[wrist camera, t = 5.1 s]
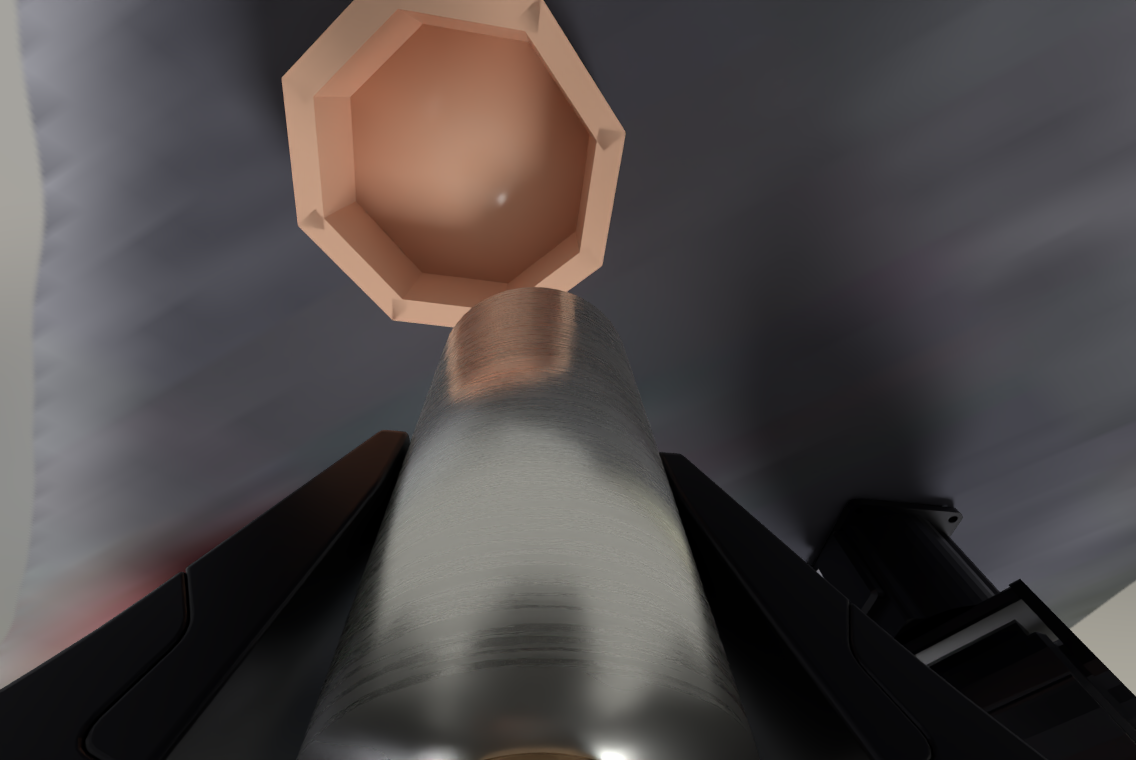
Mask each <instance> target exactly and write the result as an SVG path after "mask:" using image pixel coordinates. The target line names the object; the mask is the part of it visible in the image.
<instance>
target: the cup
mask: <svg viewBox="0 0 1136 760" xmlns="http://www.w3.org/2000/svg"><path fill="white" fill-rule="evenodd" d="M282 86H283V95H284V104H285V113H286V122H287V131H288V140H289V149H290V158H291V167H292V176H293V185H294V194H295V203H296V212H297V221H298V226H299V227H300V228H301V229H302V230H303V231H304V232H305V233H306V234H307V235H308V236H309V237H310V238H311V239H312V240H313V241H314V242H315V243H316V244H317V245H318V246H319V247H320V248H321V249H322V250H323V251H324V252H325V253H326V254H327V255H328V256H329V257H330V258H331V259H332V260H333V261H334V262H335V263H336V264H337V265H338V266H339V267H340V268H341V269H342V270H343V271H344V272H345V273H346V274H347V275H348V276H349V277H350V278H351V279H352V280H353V281H354V282H355V283H356V284H357V285H358V286H359V287H360V288H361V289H362V290H363V291H364V292H365V293H366V294H367V295H368V296H369V297H370V298H371V299H372V300H373V301H374V302H375V303H376V304H377V305H378V306H379V307H380V308H381V309H382V310H383V311H384V312H385V313H386V314H387V315H388V316H389V317H390V318H391V319H392V320H395V321H404V322H413V323H421V324H430V325H438V326H447V327H455V325H456V324H457V322H458V321H459V320H460V319H461V318H462V317H463V315H464V314H466V313H467V312H468V311H469V310H470V309H471V308H472V307H474V306H475V305H477V304H478V303H480V302H481V301H483V300H484V299H486V298H489V297H491V296H493V295H495V294H498V293H501V292H504V291H507V290H511V289H516V288H524V287H546V288H552V289H557V290H561V291H564V292H567V291H568V290H570V289H571V288H572V287H574V286H575V285H577V284H578V283H579V282H581V281H582V280H583V279H585V278H586V277H587V276H589V275H590V274H592V273H593V272H594V271H596V270H597V269H598V268H600V267H601V266H602V264H603V258H604V253H605V247H606V241H607V236H608V230H609V224H610V219H611V213H612V208H613V202H614V196H615V191H616V185H617V179H618V174H619V168H620V163H621V157H622V151H623V146H624V140H625V134H626V132H625V130H624V129H623V127H622V126H621V124H620V122H619V121H618V119H617V118H616V116H615V114H614V113H613V111H612V110H611V108H610V106H609V105H608V103H607V102H606V100H605V98H604V97H603V95H602V94H601V92H600V90H599V89H598V87H597V86H596V84H595V82H594V81H593V79H592V77H591V76H590V74H589V73H588V71H587V69H586V68H585V66H584V65H583V63H582V61H581V60H580V58H579V57H578V55H577V53H576V52H575V50H574V49H573V47H572V45H571V44H570V42H569V41H568V39H567V37H566V36H565V34H564V33H563V31H562V29H561V28H560V26H559V25H558V23H557V21H556V20H555V18H554V16H553V15H552V13H551V12H550V10H549V8H548V7H547V5H546V4H545V2H544V0H353V2H352V3H351V4H350V5H349V6H348V7H347V8H346V9H345V10H344V11H343V12H342V13H341V14H340V16H339V17H338V18H337V19H336V20H335V21H334V22H333V23H332V24H331V25H330V26H329V27H328V28H327V30H326V31H325V32H324V33H323V34H322V35H321V36H320V37H319V38H318V39H317V40H316V41H315V42H314V44H313V45H312V46H311V47H310V48H309V49H308V50H307V51H306V52H305V53H304V54H303V55H302V56H301V58H300V59H299V60H298V61H297V62H296V63H295V64H294V65H293V66H292V67H291V68H290V69H289V70H288V72H287V73H286V74H285V75H284V76H283V77H282Z"/></svg>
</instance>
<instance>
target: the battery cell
mask: <svg viewBox="0 0 1136 760" xmlns="http://www.w3.org/2000/svg"><path fill="white" fill-rule="evenodd" d="M296 760H760V757H759V754H758V750H757V747H756V744H755V741H754V738H753V735H752V732H751V729H750V726H749V723H748V720H747V717H746V714H745V711H744V708H743V705H742V702H741V699H740V696H739V693H738V690H737V687H736V684H735V681H734V678H733V675H732V672H731V669H730V666H729V663H728V660H727V657H726V654H725V651H724V648H723V645H722V642H721V639H720V636H719V632H718V629H717V626H716V623H715V620H714V617H713V614H712V611H711V608H710V605H709V602H708V599H707V596H706V593H705V590H704V587H703V584H702V581H701V578H700V575H699V572H698V569H697V566H696V563H695V560H694V557H693V554H692V551H691V548H690V545H689V542H688V539H687V536H686V533H685V530H684V527H683V524H682V521H681V518H680V515H679V512H678V509H677V506H676V503H675V500H674V497H673V494H672V491H671V488H670V485H669V482H668V479H667V476H666V473H665V470H664V467H663V464H662V461H661V458H660V455H659V452H658V448H657V445H656V442H655V439H654V436H653V433H652V430H651V427H650V424H649V421H648V418H647V415H646V412H645V409H644V406H643V403H642V400H641V397H640V394H639V391H638V388H637V385H636V382H635V379H634V376H633V373H632V370H631V367H630V364H629V361H628V358H627V355H626V352H625V349H624V346H623V343H622V341H621V338H620V336H619V334H618V332H617V331H616V329H615V328H614V326H613V325H612V323H611V322H610V321H609V320H608V319H607V317H606V316H605V315H604V314H603V313H602V312H601V311H599V310H598V309H597V308H596V307H595V306H593V305H592V304H590V303H589V302H587V301H585V300H584V299H582V298H580V297H578V296H575V295H573V294H571V293H568V292H564V291H561V290H557V289H552V288H546V287H524V288H516V289H511V290H507V291H504V292H501V293H498V294H495V295H493V296H491V297H489V298H486V299H484V300H483V301H481V302H480V303H478V304H477V305H475V306H474V307H472V308H471V309H470V310H469V311H468V312H467V313H466V314H464V315H463V317H462V318H461V319H460V320H459V321H458V322H457V324H456V325H455V327H454V328H453V330H452V332H451V333H450V335H449V337H448V340H447V342H446V344H445V347H444V350H443V353H442V356H441V358H440V361H439V364H438V367H437V369H436V372H435V375H434V378H433V381H432V383H431V386H430V389H429V392H428V395H427V397H426V400H425V403H424V406H423V408H422V411H421V414H420V417H419V420H418V422H417V425H416V428H415V431H414V433H413V436H412V439H411V442H410V445H409V447H408V450H407V453H406V456H405V459H404V461H403V464H402V467H401V470H400V472H399V475H398V478H397V481H396V484H395V486H394V489H393V492H392V495H391V497H390V500H389V503H388V506H387V509H386V511H385V514H384V517H383V520H382V523H381V525H380V528H379V531H378V534H377V536H376V539H375V542H374V545H373V548H372V550H371V553H370V556H369V559H368V561H367V564H366V567H365V570H364V573H363V575H362V578H361V581H360V584H359V587H358V589H357V592H356V595H355V598H354V600H353V603H352V606H351V609H350V612H349V614H348V617H347V620H346V623H345V625H344V628H343V631H342V634H341V637H340V639H339V642H338V645H337V648H336V651H335V653H334V656H333V659H332V662H331V664H330V667H329V670H328V673H327V676H326V678H325V681H324V684H323V687H322V689H321V692H320V695H319V698H318V701H317V703H316V706H315V709H314V712H313V715H312V717H311V720H310V723H309V726H308V728H307V731H306V734H305V737H304V740H303V742H302V745H301V748H300V751H299V753H298V756H297V759H296Z"/></svg>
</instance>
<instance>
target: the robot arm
mask: <svg viewBox="0 0 1136 760" xmlns="http://www.w3.org/2000/svg"><path fill="white" fill-rule="evenodd" d="M409 445H410V439H409V435H408V434H407V433H406V432H403V431H391V430H382V431H380V432H378V433H377V434H375V435H374V436H372V437H371V438H369V439H368V440H367V441H365V442H364V443H362V444H361V445H360V446H358V447H357V448H355V449H354V450H352V451H351V452H350V453H348V454H347V455H345V456H344V457H343V458H341V459H340V460H338V461H337V462H335V463H334V464H333V465H331V466H330V467H328V468H327V469H326V470H324V471H323V472H321V473H320V474H318V475H317V476H316V477H314V478H313V479H311V480H310V481H309V482H307V483H306V484H304V485H303V486H301V487H300V488H299V489H297V490H296V491H294V492H293V493H292V494H290V495H289V496H287V497H286V498H284V499H283V500H282V501H280V502H279V503H277V504H276V505H275V506H273V507H272V508H270V509H269V510H267V511H266V512H265V513H263V514H262V515H260V516H259V517H258V518H256V519H255V520H253V521H252V522H250V523H249V524H248V525H246V526H245V527H243V528H242V529H241V530H239V531H238V532H236V533H235V534H233V535H232V536H231V537H229V538H228V539H226V540H225V541H224V542H222V543H221V544H219V545H218V546H216V547H215V548H214V549H212V550H211V551H209V552H208V553H207V554H205V555H204V556H202V557H201V558H199V559H198V560H197V561H195V562H194V563H192V564H191V565H190V566H188V567H187V568H186V574H185V573H184V572H180V573H178V574H176V575H175V576H174V577H172V578H171V579H169V580H168V581H167V582H165V583H164V584H162V585H161V586H159V587H158V588H157V589H155V590H154V591H152V592H151V593H149V594H148V595H147V596H145V597H144V598H142V599H141V600H139V601H138V602H136V603H135V604H133V605H132V606H130V607H129V608H127V609H126V610H124V611H123V612H121V613H120V614H119V615H117V616H116V617H114V618H113V619H111V620H110V621H108V622H107V623H105V624H104V625H102V626H101V627H99V628H98V629H96V630H95V631H93V632H92V633H90V634H88V635H87V636H85V637H84V638H82V639H80V640H79V641H77V642H76V643H74V644H73V645H71V646H69V647H68V648H66V649H65V650H63V651H61V652H60V653H58V654H57V655H55V656H54V657H52V658H50V659H49V660H47V661H46V662H44V663H42V664H41V665H39V666H38V667H36V668H35V669H33V670H31V671H30V672H28V673H26V674H25V675H23V676H22V677H20V678H18V679H17V680H15V681H13V682H12V683H10V684H8V685H7V686H5V687H4V688H2V689H0V760H296V759H297V756H298V753H299V751H300V748H301V745H302V742H303V740H304V737H305V734H306V731H307V728H308V726H309V723H310V720H311V717H312V715H313V712H314V709H315V706H316V703H317V701H318V698H319V695H320V692H321V689H322V687H323V684H324V681H325V678H326V676H327V673H328V670H329V667H330V664H331V662H332V659H333V656H334V653H335V651H336V648H337V645H338V642H339V639H340V637H341V634H342V631H343V628H344V625H345V623H346V620H347V617H348V614H349V612H350V609H351V606H352V603H353V600H354V598H355V595H356V592H357V589H358V587H359V584H360V581H361V578H362V575H363V573H364V570H365V567H366V564H367V561H368V559H369V556H370V553H371V550H372V548H373V545H374V542H375V539H376V536H377V534H378V531H379V528H380V525H381V523H382V520H383V517H384V514H385V511H386V509H387V506H388V503H389V500H390V497H391V495H392V492H393V489H394V486H395V484H396V481H397V478H398V475H399V472H400V470H401V467H402V464H403V461H404V459H405V456H406V453H407V450H408V447H409ZM659 455H660V458H661V461H662V464H663V467H664V470H665V473H666V476H667V479H668V482H669V485H670V488H671V491H672V494H673V497H674V500H675V503H676V506H677V509H678V512H679V515H680V518H681V521H682V524H683V527H684V530H685V533H686V536H687V539H688V542H689V545H690V548H691V551H692V554H693V557H694V560H695V563H696V566H697V569H698V572H699V575H700V578H701V581H702V584H703V587H704V590H705V593H706V596H707V599H708V602H709V605H710V608H711V611H712V614H713V617H714V620H715V623H716V626H717V629H718V632H719V636H720V639H721V642H722V645H723V648H724V651H725V654H726V657H727V660H728V663H729V666H730V669H731V672H732V675H733V678H734V681H735V684H736V687H737V690H738V693H739V696H740V699H741V702H742V705H743V708H744V711H745V714H746V717H747V720H748V723H749V726H750V729H751V732H752V735H753V738H754V741H755V744H756V747H757V750H758V754H759V757H760V760H1136V696H1135V695H1134V694H1133V693H1132V692H1131V691H1130V690H1129V689H1128V688H1127V687H1126V686H1125V685H1124V684H1123V683H1122V682H1121V681H1120V680H1119V679H1118V678H1117V677H1116V676H1115V675H1114V674H1113V673H1112V672H1111V671H1110V670H1109V669H1108V668H1107V667H1106V666H1105V665H1104V664H1103V663H1102V662H1101V661H1100V660H1099V659H1098V658H1097V657H1096V656H1095V655H1094V654H1093V653H1092V652H1091V651H1090V650H1089V649H1088V647H1086V645H1085V644H1084V643H1082V641H1081V640H1080V639H1079V638H1078V637H1077V636H1076V635H1075V634H1074V633H1073V632H1072V631H1071V630H1070V629H1069V628H1068V627H1067V626H1066V625H1065V624H1064V623H1063V622H1062V621H1061V620H1060V619H1059V618H1058V617H1057V616H1056V615H1055V614H1054V613H1053V612H1052V611H1051V610H1050V609H1049V608H1048V607H1047V606H1046V605H1045V604H1044V603H1043V602H1042V601H1041V600H1040V599H1039V598H1038V597H1037V596H1036V595H1035V594H1034V593H1033V592H1032V591H1031V590H1030V588H1029V587H1028V586H1027V585H1026V584H1025V583H1024V582H1023V581H1022V580H1021V579H1019V580H1017V581H1015V582H1013V583H1011V584H1009V586H1010V587H1009V588H1007V589H1005V590H1003V591H1002V592H999V591H998V590H997V588H996V587H995V586H994V585H993V584H992V583H991V582H990V581H989V580H988V579H987V578H986V576H985V575H984V574H983V573H982V572H981V571H980V570H979V569H978V568H977V567H976V566H975V564H974V563H973V562H972V561H971V560H970V559H969V558H968V557H967V556H966V555H965V554H964V552H963V551H962V550H961V549H960V548H959V547H958V546H957V545H956V544H955V543H954V542H953V540H952V539H951V538H950V536H951V535H952V533H953V532H954V530H955V529H956V527H957V526H958V525H959V523H960V522H961V520H962V518H963V516H962V514H961V513H960V512H959V511H958V510H957V509H956V508H953V507H942V506H931V505H920V504H909V503H898V502H887V501H876V500H865V499H854V500H851V501H850V502H848V504H847V505H846V507H845V509H844V510H843V512H842V514H841V516H840V518H839V520H838V522H837V523H836V525H835V527H834V529H833V531H832V533H831V535H830V536H829V538H828V540H827V542H826V544H825V546H824V548H823V549H822V551H821V553H820V555H819V557H818V559H817V561H816V562H815V564H814V566H813V568H812V567H811V566H809V565H808V564H807V563H806V562H805V561H804V560H803V559H801V558H800V557H799V556H798V555H797V554H796V553H795V552H793V551H792V550H791V549H790V548H789V547H788V546H787V545H785V544H784V543H783V542H782V541H781V540H780V539H778V538H777V537H776V536H775V535H774V534H773V533H772V532H770V531H769V530H768V529H767V528H766V527H765V526H764V525H762V524H761V523H760V522H759V521H758V520H757V519H756V518H754V517H753V516H752V515H751V514H750V513H749V512H747V511H746V510H745V509H744V508H743V507H742V506H741V505H739V504H738V503H737V502H736V501H735V500H734V499H733V498H731V497H730V496H729V495H728V494H727V493H726V492H725V491H723V490H722V489H721V488H720V487H719V486H718V485H716V484H715V483H714V482H713V481H712V480H711V479H710V478H708V477H707V476H706V475H705V474H704V473H703V472H702V471H700V470H699V469H698V468H697V467H696V466H695V465H693V464H692V463H691V462H690V461H689V460H688V459H687V458H685V457H684V456H683V455H681V454H677V453H665V452H660V453H659Z"/></svg>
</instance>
